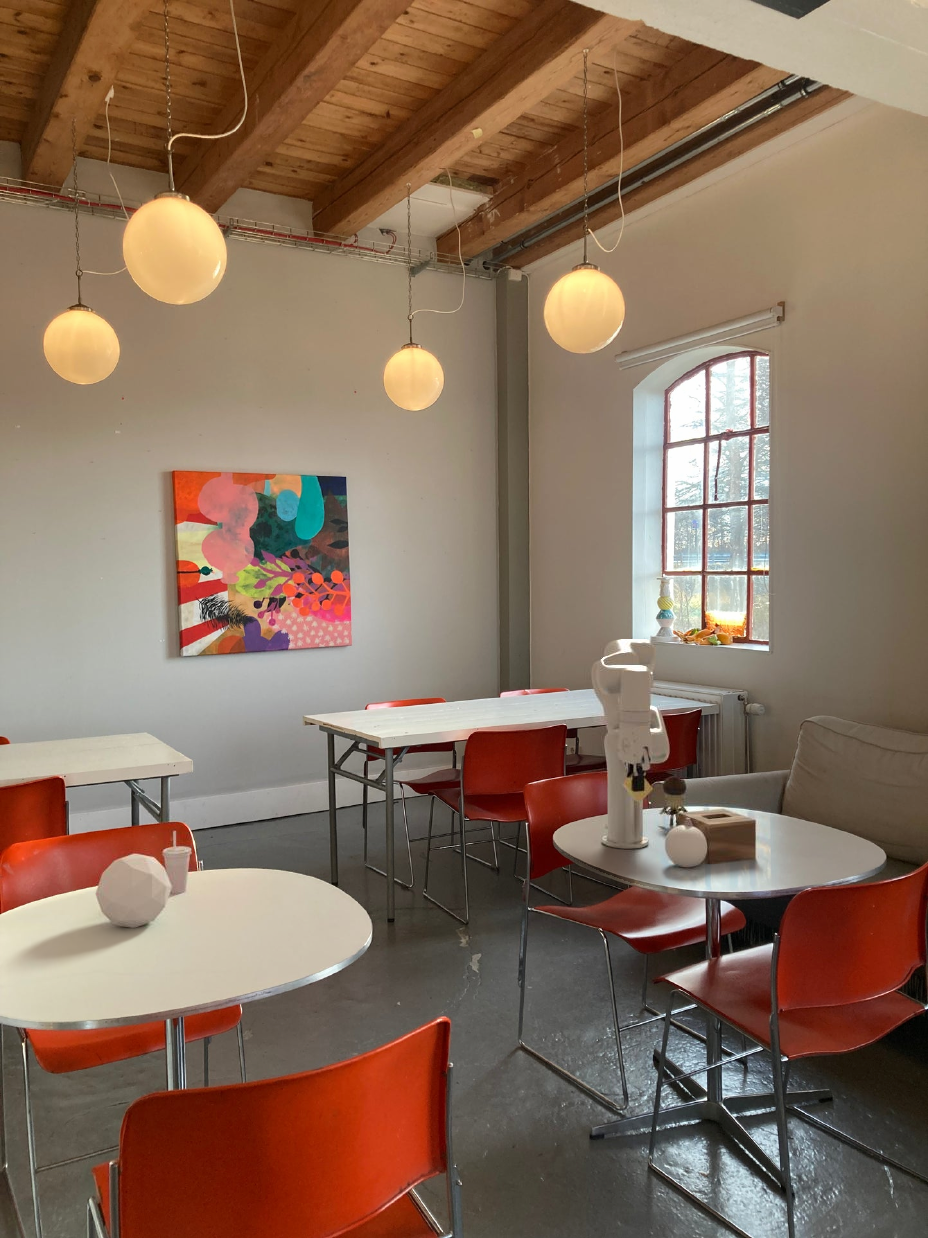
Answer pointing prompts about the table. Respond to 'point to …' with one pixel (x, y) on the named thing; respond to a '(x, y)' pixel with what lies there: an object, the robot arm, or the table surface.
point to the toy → (674, 797)
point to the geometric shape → (133, 890)
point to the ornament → (686, 845)
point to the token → (636, 795)
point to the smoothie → (177, 866)
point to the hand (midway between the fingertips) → (635, 789)
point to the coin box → (724, 834)
